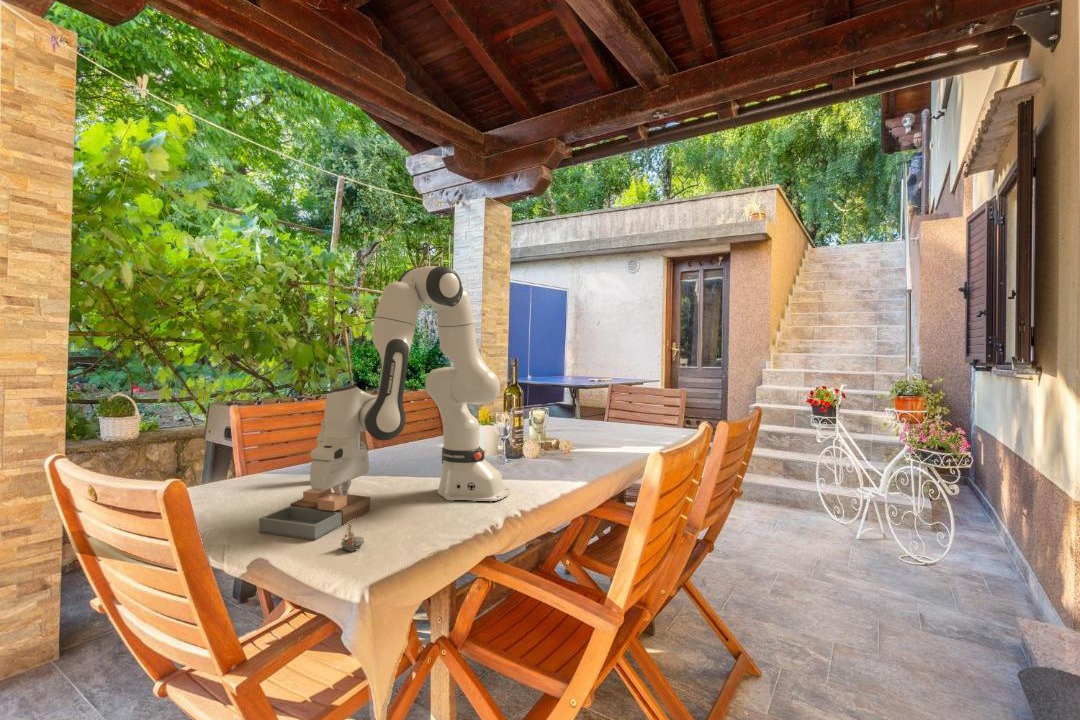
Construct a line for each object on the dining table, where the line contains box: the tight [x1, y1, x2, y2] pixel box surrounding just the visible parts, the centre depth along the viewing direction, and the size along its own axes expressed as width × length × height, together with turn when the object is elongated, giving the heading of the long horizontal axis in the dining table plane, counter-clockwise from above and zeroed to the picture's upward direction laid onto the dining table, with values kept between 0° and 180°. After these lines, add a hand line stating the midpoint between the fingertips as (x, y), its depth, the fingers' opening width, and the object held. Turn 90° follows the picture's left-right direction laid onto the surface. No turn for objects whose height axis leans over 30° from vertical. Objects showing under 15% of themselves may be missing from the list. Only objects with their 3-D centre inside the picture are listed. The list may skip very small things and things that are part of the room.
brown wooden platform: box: [289, 491, 371, 526], centre depth 143 cm, size 16×12×4 cm
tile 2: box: [318, 494, 347, 511], centre depth 138 cm, size 5×5×2 cm
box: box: [258, 505, 343, 541], centre depth 132 cm, size 16×10×4 cm, turn 74°
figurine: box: [340, 523, 365, 552], centre depth 121 cm, size 5×4×6 cm
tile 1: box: [302, 487, 332, 503], centre depth 144 cm, size 5×5×2 cm
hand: (341, 498), depth 141 cm, fingers closed
